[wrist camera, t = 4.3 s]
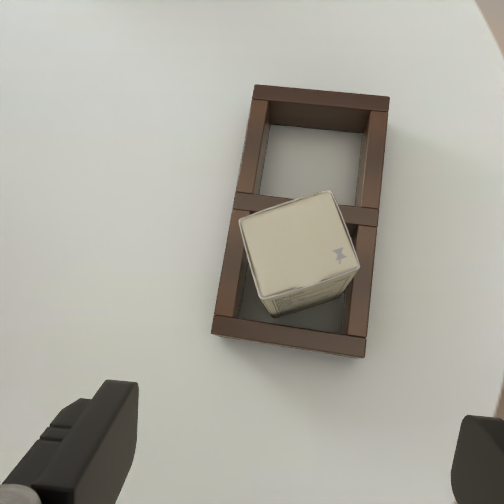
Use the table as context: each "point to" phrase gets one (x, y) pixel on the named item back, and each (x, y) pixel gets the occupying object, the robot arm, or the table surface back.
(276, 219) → the cream cardboard box
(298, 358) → the table surface
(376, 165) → the holder
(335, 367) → the table surface
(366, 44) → the table surface
